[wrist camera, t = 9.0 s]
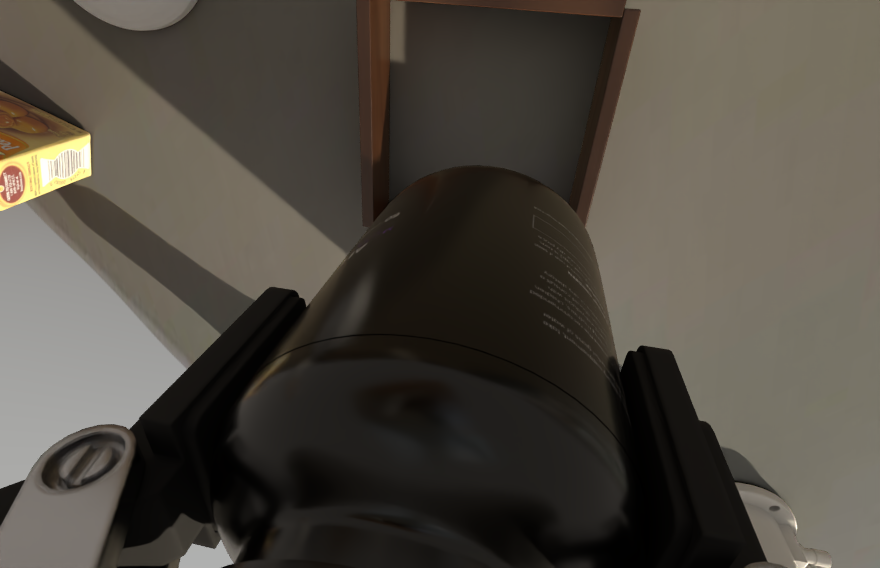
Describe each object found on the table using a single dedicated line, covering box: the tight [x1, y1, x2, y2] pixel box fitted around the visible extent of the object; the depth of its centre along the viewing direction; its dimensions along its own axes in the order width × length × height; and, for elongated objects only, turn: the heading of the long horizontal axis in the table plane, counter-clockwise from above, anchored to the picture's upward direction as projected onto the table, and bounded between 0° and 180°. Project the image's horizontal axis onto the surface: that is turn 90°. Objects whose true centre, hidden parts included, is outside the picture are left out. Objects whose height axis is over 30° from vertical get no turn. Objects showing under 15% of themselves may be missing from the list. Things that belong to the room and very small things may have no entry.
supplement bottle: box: [209, 165, 649, 568], centre depth 9 cm, size 7×7×12 cm
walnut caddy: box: [356, 0, 641, 227], centre depth 29 cm, size 15×15×4 cm
